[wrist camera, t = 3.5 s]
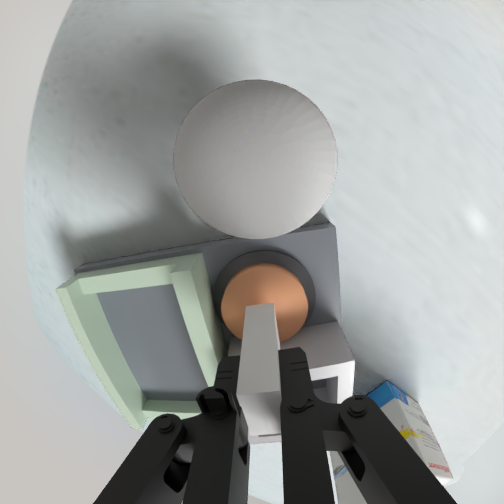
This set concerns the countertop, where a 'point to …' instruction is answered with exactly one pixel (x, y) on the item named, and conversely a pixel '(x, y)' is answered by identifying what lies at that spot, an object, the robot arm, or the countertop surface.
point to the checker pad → (265, 298)
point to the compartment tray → (199, 320)
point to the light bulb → (255, 159)
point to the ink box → (410, 427)
